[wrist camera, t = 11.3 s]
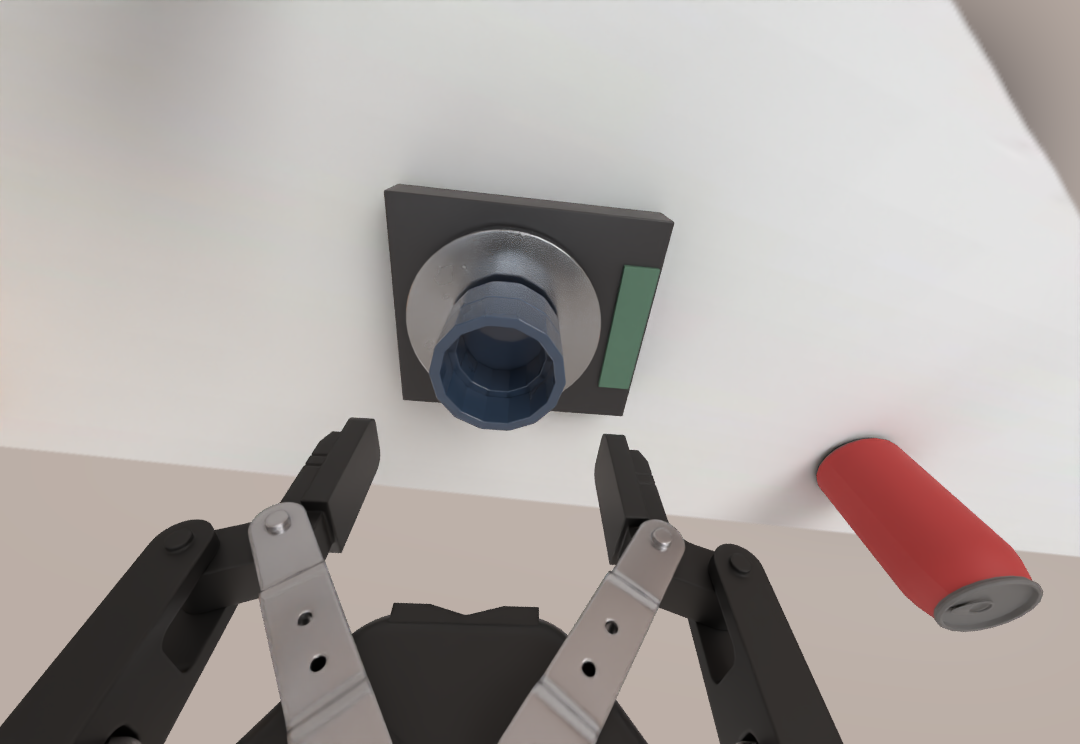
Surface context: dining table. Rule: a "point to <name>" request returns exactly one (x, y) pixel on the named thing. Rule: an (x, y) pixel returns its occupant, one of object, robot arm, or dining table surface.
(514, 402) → the cup
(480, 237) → the platter
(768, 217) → the dining table surface
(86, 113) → the dining table surface
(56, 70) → the dining table surface
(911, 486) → the beer can
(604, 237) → the scale
